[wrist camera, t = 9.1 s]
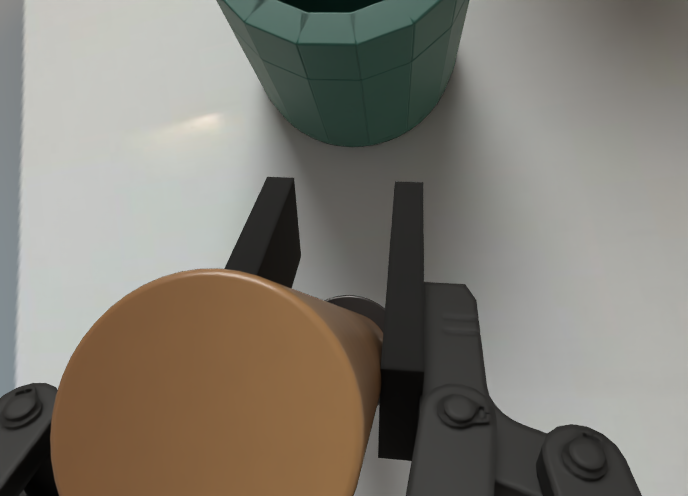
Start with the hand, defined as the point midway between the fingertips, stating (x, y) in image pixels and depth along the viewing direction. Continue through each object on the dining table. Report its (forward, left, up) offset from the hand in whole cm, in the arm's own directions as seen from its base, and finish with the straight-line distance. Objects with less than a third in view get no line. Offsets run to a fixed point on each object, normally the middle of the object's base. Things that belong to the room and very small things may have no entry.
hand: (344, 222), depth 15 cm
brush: (0, +4, -8) cm, 9 cm away
